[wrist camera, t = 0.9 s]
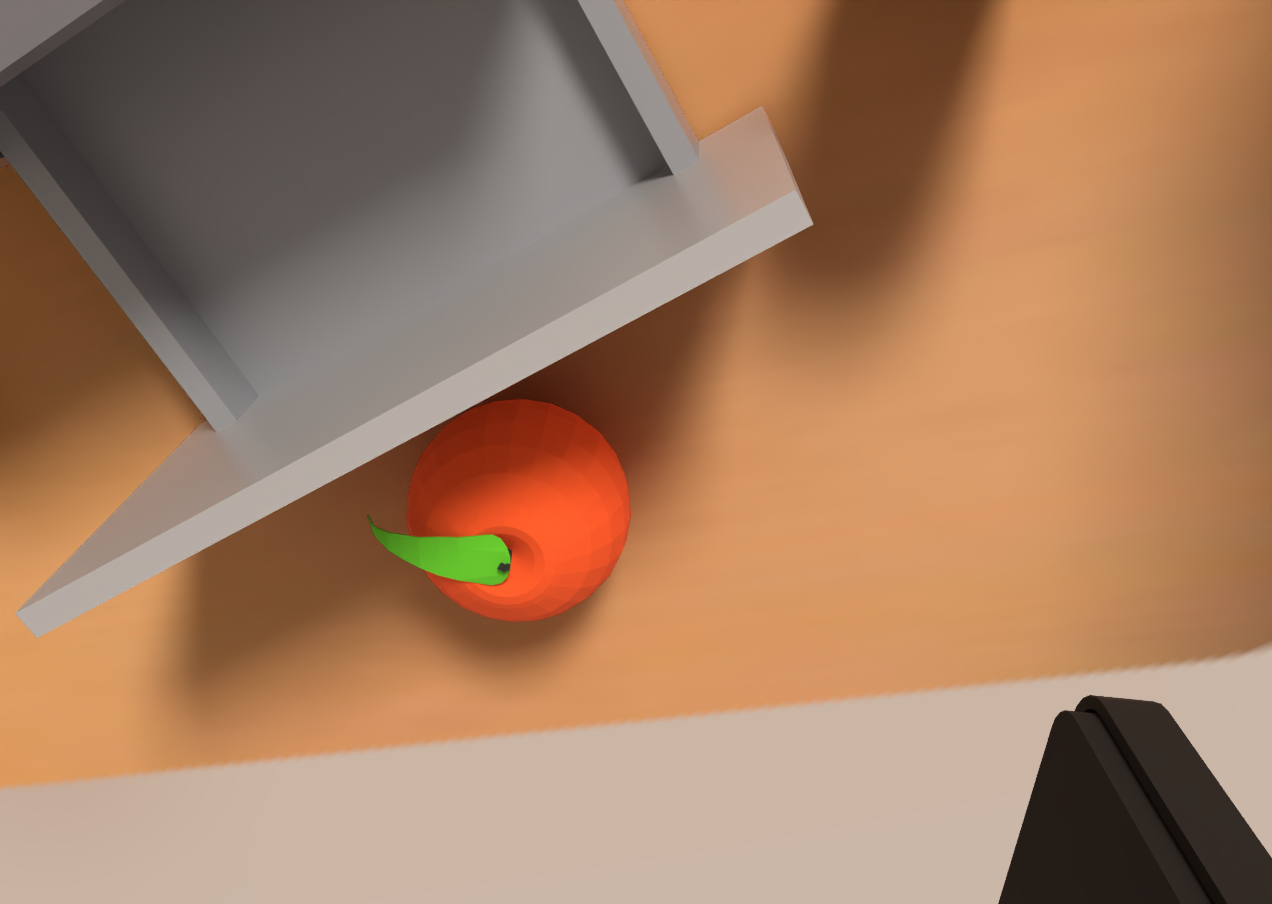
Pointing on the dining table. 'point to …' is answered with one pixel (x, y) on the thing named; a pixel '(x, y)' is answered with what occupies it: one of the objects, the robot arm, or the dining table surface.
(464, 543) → the clementine
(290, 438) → the grey open box
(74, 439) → the dining table surface
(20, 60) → the block
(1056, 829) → the robot arm
